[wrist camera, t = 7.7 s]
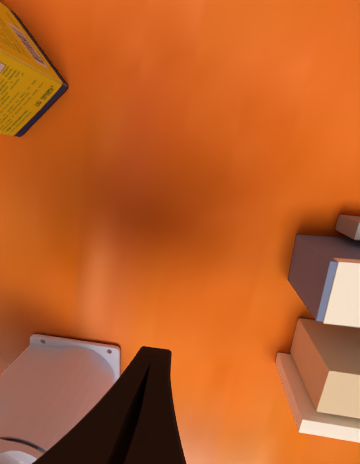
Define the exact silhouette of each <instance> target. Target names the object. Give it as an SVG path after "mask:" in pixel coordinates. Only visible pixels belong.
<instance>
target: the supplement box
mask: <svg viewBox="0 0 360 464" xmlns="http://www.w3.org/2000/svg"><path fill="white" fill-rule="evenodd" d="M67 88H68V86H67V84H66V82H65V81H64V80H63V78H62V77H61V76H60V74H59V73H58V71H57V70H56V68H55V67H54V66H53V65H52V63H51V62H50V61H49V59H48V58H47V57H46V55H45V54H44V52H43V51H42V50H41V48H40V47H39V46H38V44H37V43H36V41H35V40H34V39H33V37H32V36H31V35H30V33H29V32H28V30H27V29H26V28H25V26H24V25H23V24H22V22H21V21H20V20H19V18H18V17H17V16H16V14H15V13H14V12H12V11H11V10H10V9H9V8H7V7H6V6H5V5H3V4H2V3H1V2H0V134H4V135H11V136H18V137H21V136H22V135H23V134H24V133H25V132H26V131H27V130H28V129H29V128H30V126H31V125H32V124H33V123H34V122H35V121H36V120H37V119H38V118H39V117H40V116H41V115H42V114H43V113H44V112H45V111H46V110H47V109H48V108H49V107H50V106H51V105H52V104H53V103H54V102H55V101H56V100H57V99H58V98H59V97H60V96H61V95H62V94H63V93H64V91H65V90H66V89H67Z"/></svg>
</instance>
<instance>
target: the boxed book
mask: <svg viewBox="0 0 360 464" xmlns="http://www.w3.org/2000/svg"><path fill="white" fill-rule="evenodd" d="M288 281H289V282H290V284H291V285H292V287H293V288H294V290H295V291H296V292H297V294H298V295H299V297H300V298H301V300H302V301H303V303H304V304H305V306H306V307H307V308H308V310H309V311H310V313H311V314H312V316H313V317H314V319H315V320H316V321H321V322H323V323H325V324H334V325H344V326H354V327H360V240H354V239H352V238H343V237H328V236H314V235H299V234H296V239H295V244H294V250H293V255H292V260H291V265H290V271H289V276H288Z"/></svg>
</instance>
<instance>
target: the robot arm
mask: <svg viewBox="0 0 360 464" xmlns="http://www.w3.org/2000/svg"><path fill="white" fill-rule="evenodd" d="M29 340H30V345H29V346H28V347H27V348H26V349H25V350H24V351H23V352H22V353H21V354H20V355H19V356H18V357H17V358H16V359H15V360H14V361H13V362H12V363H11V364H10V365H9V366H8V367H7V368H6V369H5V370H4V371H3V372H2V373H1V374H0V464H186V461H185V457H184V453H183V449H182V445H181V440H180V436H179V432H178V427H177V422H176V416H175V411H174V405H173V398H172V389H171V379H170V370H171V353H172V352H171V351H170V350H167V349H160V348H152V347H145V346H143V347H141V348H140V350H139V351H138V353H137V354H136V356H135V357H134V359H133V360H132V361H131V363H130V364H129V365H128V367H127V368H126V369H125V371H124V372H123V373H122V375H121V376H120V348H119V347H118V346H115V345H108V344H101V343H94V342H88V341H81V340H74V339H67V338H60V337H54V336H47V335H40V334H33V335H31V336H30V338H29ZM110 350H111V351H110Z"/></svg>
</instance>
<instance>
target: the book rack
mask: <svg viewBox="0 0 360 464" xmlns="http://www.w3.org/2000/svg"><path fill="white" fill-rule="evenodd" d="M335 230H337V231H339V232H340V233H342V234H344V235H346V236H348V237H350V238H352V239H354V240H360V216H351V215H340V214H339V216H338V220H337V224H336V228H335ZM290 352H291V354H286V353H279V352H278V353H277V357H276V362H275V363H276V366H277V369H278V372H279V375H280V378H281V381H282V384H283V387H284V390H285V393H286V396H287V399H288V402H289V405H290V408H291V411H292V414H293V417H294V420H295V423H296V426H297V429H298V432H301V433H307V434H313V435H319V436H324V437H330V438H336V439H342V440H348V441H354V442H360V327H354V326H344V325H334V324H325V323H323V322H321V321H316V320H311V319H303V318H298V321H297V325H296V329H295V333H294V337H293V341H292V345H291V349H290Z"/></svg>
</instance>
